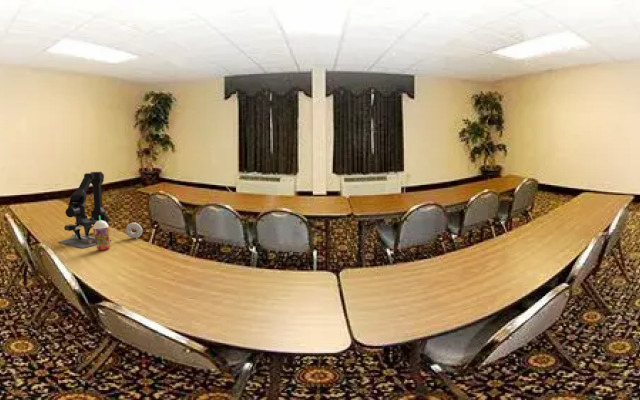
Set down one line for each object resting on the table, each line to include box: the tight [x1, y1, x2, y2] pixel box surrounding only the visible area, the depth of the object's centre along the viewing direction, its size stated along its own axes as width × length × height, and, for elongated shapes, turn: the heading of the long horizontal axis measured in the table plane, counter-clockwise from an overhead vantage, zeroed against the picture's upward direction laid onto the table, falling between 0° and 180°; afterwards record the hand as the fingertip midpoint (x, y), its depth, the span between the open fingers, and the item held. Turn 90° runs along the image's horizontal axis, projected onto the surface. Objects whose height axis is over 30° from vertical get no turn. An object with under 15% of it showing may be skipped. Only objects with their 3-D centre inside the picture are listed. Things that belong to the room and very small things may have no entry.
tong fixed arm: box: [71, 233, 96, 242], centre depth 296 cm, size 23×4×4 cm, turn 56°
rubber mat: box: [58, 234, 112, 250], centre depth 295 cm, size 18×27×1 cm, turn 55°
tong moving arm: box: [76, 235, 92, 244], centre depth 293 cm, size 18×2×2 cm, turn 49°
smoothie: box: [92, 216, 111, 252], centre depth 275 cm, size 8×8×20 cm
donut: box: [125, 222, 143, 239], centre depth 298 cm, size 10×4×10 cm, turn 94°
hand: (83, 238), depth 297 cm, fingers open, 4 cm apart
